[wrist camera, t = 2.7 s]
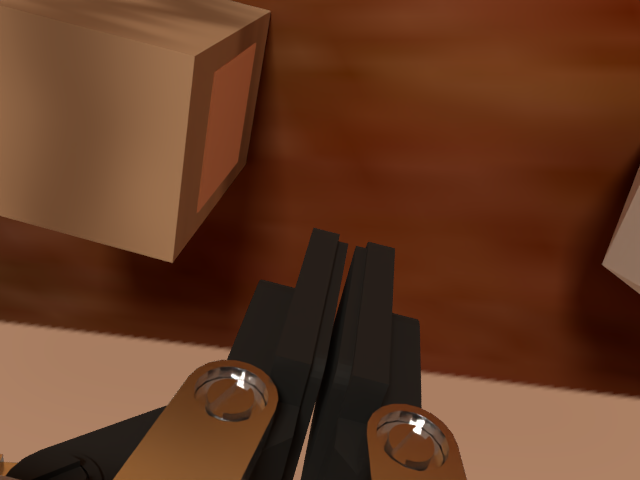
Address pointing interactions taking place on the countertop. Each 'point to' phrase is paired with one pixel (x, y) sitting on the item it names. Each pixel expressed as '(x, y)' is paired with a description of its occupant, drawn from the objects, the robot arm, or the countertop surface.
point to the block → (125, 115)
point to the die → (627, 241)
